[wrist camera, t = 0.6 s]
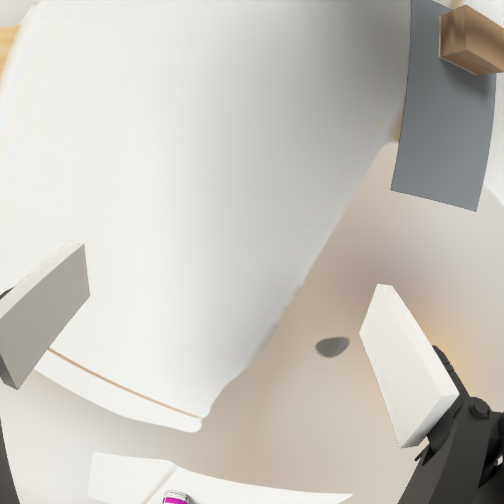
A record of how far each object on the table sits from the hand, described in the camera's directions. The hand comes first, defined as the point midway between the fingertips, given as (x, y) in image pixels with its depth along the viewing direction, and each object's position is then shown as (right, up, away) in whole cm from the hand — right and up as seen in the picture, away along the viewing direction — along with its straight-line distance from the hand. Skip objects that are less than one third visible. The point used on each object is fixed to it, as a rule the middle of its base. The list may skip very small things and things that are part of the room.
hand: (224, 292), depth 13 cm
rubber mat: (+29, +23, +19) cm, 41 cm away
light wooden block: (+30, +31, +15) cm, 46 cm away
